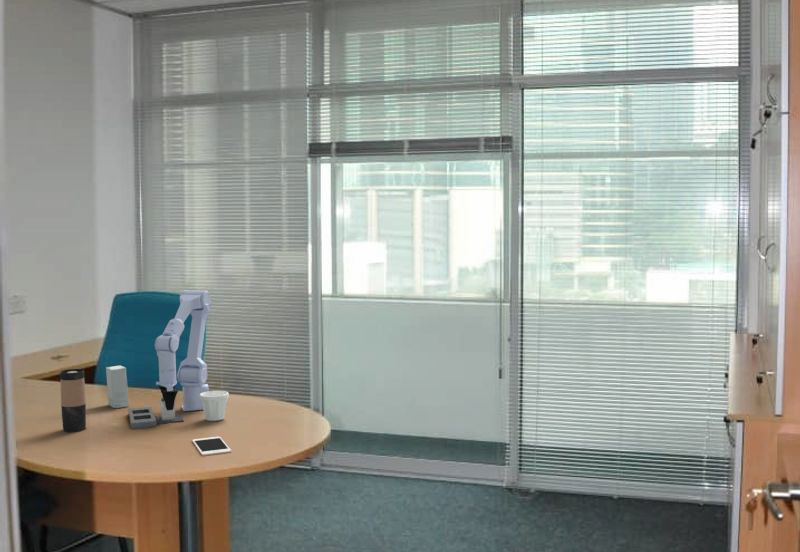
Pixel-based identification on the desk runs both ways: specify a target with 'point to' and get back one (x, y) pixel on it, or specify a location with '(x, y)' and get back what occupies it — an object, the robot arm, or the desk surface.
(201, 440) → the cell phone
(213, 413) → the cup
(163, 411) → the grey boxy piece
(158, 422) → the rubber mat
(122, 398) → the skincare box
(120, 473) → the desk surface
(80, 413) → the travel mug
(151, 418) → the grey flat block
